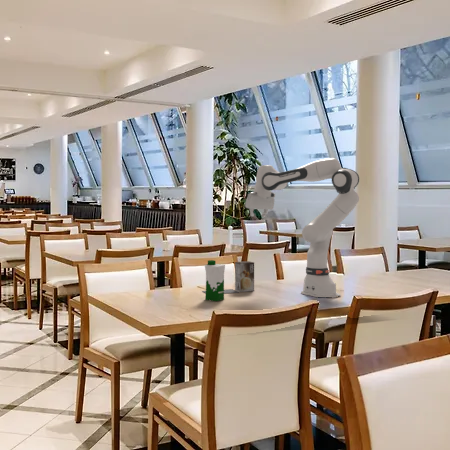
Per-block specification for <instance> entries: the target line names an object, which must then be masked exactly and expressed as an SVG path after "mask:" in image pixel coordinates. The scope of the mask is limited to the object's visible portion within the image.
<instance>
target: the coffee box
mask: <svg viewBox="0 0 450 450" xmlns="http://www.w3.org/2000/svg"><path fill="white" fill-rule="evenodd" d="M234 290H235V291H238V292H239V293H244V292H253V291H254V292H255V262H254V261H248V260H247V261H235V262H234Z"/></svg>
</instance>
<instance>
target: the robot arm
mask: <svg viewBox="0 0 450 450" xmlns="http://www.w3.org/2000/svg"><path fill="white" fill-rule="evenodd" d="M329 179H331V184H332V186H333V187H334V189H335V191H336V192H337V193H338V195H337V196H336V197H335V198H334V199H333V200H332V201H331V202H330V203H329V204H328V206H327V207H326V208H324V210H323V211H322V212H320V213H319V214H318V215H317V216H315V217H314V218H313V219H312V220H311V221H310V222H309V223H308V224H307V225H305V226H304V227H303V228H302V230H301V235H302V236H301V237H302V238H303V240H304V241H305V242H308V243H310V245H309V248H308V250H307V253H306V254H307V255H306V268H305V277H304V279H303V288H302V291H301V292H300V293H301V294H302V295H306V296H309V297H314V298H318V297H332V298H337V297H336V296H340V297H341V293H338V292H337V284H336V283H335V281H333V279H332V278H331V277H330V269H329V268H328V253H329V248H330V242H331V238H332V236H333V234H334V229H335V228H336V227H337V226H339V225H340V224H341V223H342V222H343V221H344V220H345V219H346V218H347V217H348V216H349V215H350V214H351V212H352V211H353V210H354V209H355V208H356V206H357V204H358V203H359V201H360V196H359V194H358V192H357V191H356V190H355V188H356V187H358V185H359V183H360V176H359V174H358V173H357V171H355V170H353V169H351V168H347V167H342V165H341V163H340V161H339V160H338V159H337V158H334V157H328V158H323V159H318V160H315V161H312V162H309V163H307V164H305V165H302V166H299V167H297V168H294V169H291V170H287V171H282V172H280V171H278V170H276V168H274V167H273V165H271V164H262V165H260V166H258V168H257V172H256V177H255V184H254V189H253V192H252V191H251V192H249V193H247V197H246V199H245V203H244V207H245V208H246V209H248V210H249V213H250V214H249V216H250V217H255V213H254V211H255V210H263V212H262V213H261V217H262V218H265V217H266V215H267V213H268V212H269V210H273V209H274V206H275V197H276V193H274V192H272V191H282V190H283V189H285V188H286V187H287V186H288V183H293V182H308V183H309V182H311V183H312V182H313V183H314V182H320V181H321V182H322V181H324V180H329Z"/></svg>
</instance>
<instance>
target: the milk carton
mask: <svg viewBox="0 0 450 450" xmlns="http://www.w3.org/2000/svg"><path fill="white" fill-rule="evenodd" d="M225 269H226V264H218V263H216V260H215V259H214V260H213V259H211V260H210V259H209V260H207V264H205V265H204V270H205V291H206V293H205V301H209V300H211V302H220V301H223V300H225V294H224V290H225Z"/></svg>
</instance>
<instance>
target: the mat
mask: <svg viewBox="0 0 450 450" xmlns="http://www.w3.org/2000/svg"><path fill="white" fill-rule="evenodd" d="M201 292H202V293H204V294H206V290H202V291H201ZM239 293H240V292H239V291H236V290H235V289H232V288H228V289H227V288H226V289H224V295H225V294H239Z"/></svg>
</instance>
